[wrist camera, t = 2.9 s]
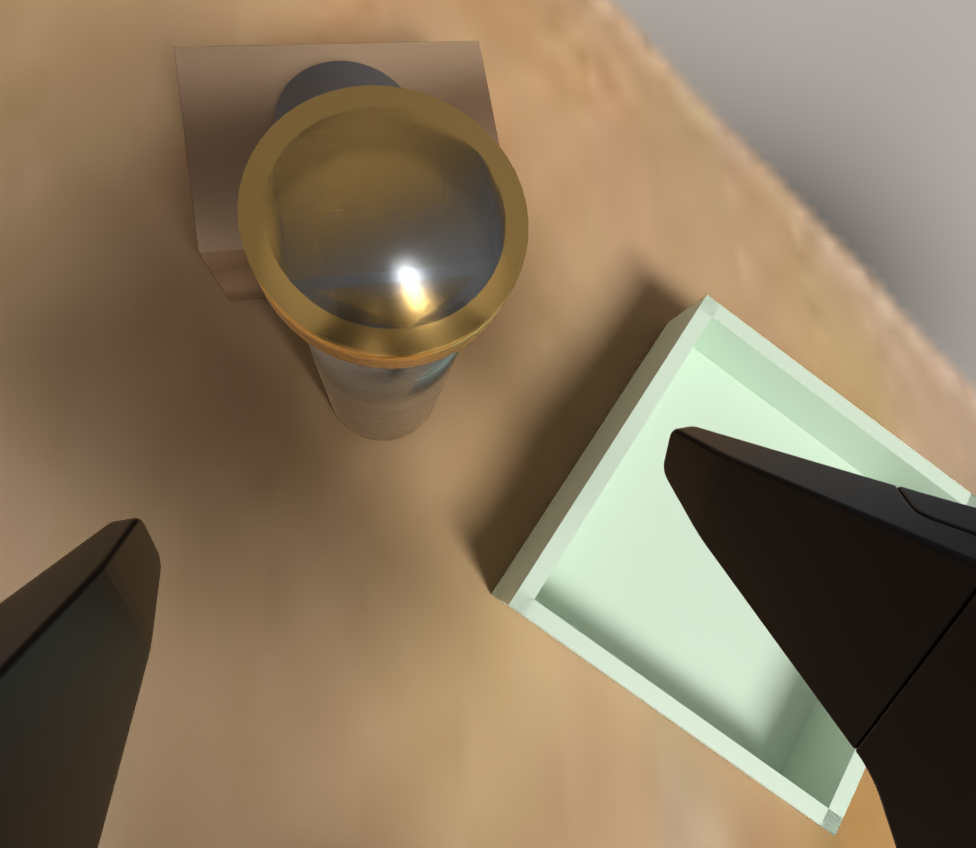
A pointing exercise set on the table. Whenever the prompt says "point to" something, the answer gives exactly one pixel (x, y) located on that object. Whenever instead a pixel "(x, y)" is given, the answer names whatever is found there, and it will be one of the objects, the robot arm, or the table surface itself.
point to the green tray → (702, 555)
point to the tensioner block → (277, 90)
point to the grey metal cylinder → (382, 243)
